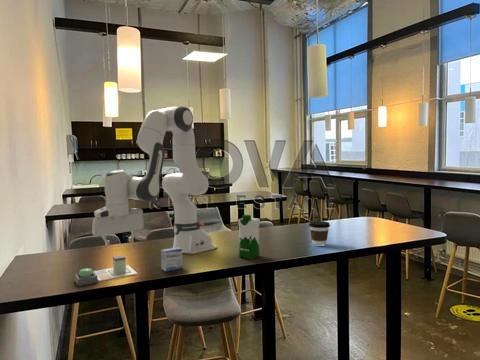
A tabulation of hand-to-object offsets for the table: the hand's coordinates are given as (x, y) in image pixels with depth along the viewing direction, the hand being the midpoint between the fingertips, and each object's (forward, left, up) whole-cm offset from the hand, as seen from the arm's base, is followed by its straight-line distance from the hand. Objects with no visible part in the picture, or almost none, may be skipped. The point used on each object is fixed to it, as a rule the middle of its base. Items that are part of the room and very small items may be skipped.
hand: (119, 243), depth 153 cm
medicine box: (-19, +8, -13) cm, 24 cm away
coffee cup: (-98, +15, -12) cm, 100 cm away
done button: (+14, +4, -11) cm, 18 cm away
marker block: (+1, 0, -12) cm, 12 cm away
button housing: (+14, +4, -12) cm, 19 cm away
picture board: (+3, 0, -12) cm, 12 cm away
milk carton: (-56, +12, -12) cm, 59 cm away
